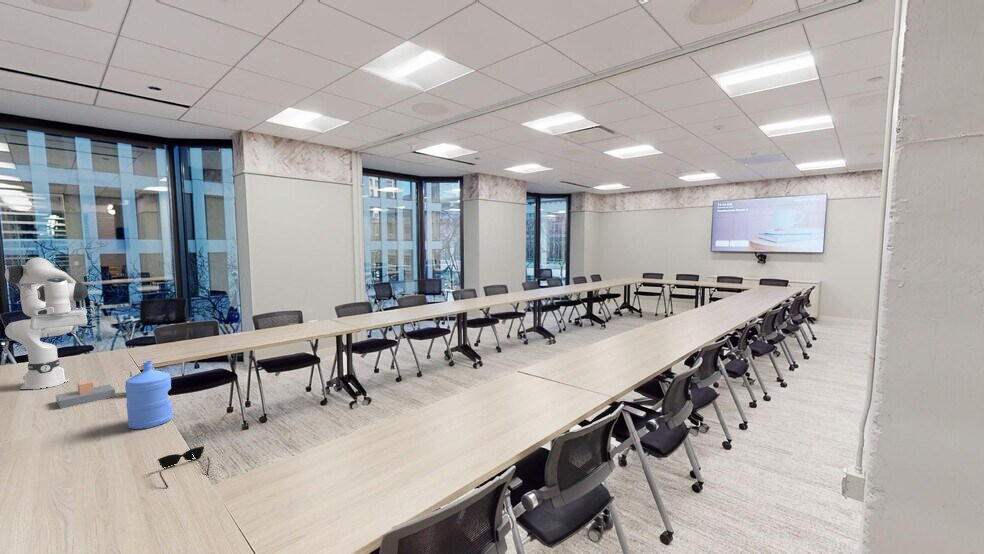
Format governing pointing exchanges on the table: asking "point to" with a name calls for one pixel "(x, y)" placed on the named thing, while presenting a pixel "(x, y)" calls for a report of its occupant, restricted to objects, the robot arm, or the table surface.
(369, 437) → the table surface
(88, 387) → the cube
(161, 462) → the sunglasses
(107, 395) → the stand
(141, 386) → the water jug
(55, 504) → the table surface
